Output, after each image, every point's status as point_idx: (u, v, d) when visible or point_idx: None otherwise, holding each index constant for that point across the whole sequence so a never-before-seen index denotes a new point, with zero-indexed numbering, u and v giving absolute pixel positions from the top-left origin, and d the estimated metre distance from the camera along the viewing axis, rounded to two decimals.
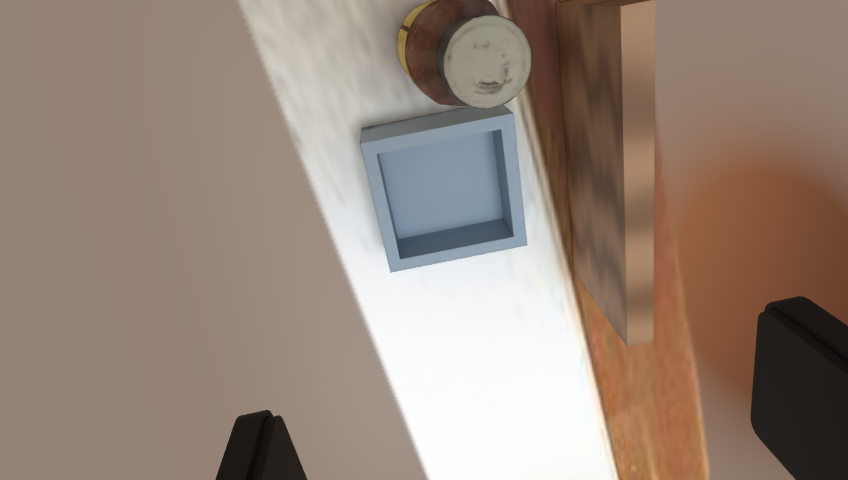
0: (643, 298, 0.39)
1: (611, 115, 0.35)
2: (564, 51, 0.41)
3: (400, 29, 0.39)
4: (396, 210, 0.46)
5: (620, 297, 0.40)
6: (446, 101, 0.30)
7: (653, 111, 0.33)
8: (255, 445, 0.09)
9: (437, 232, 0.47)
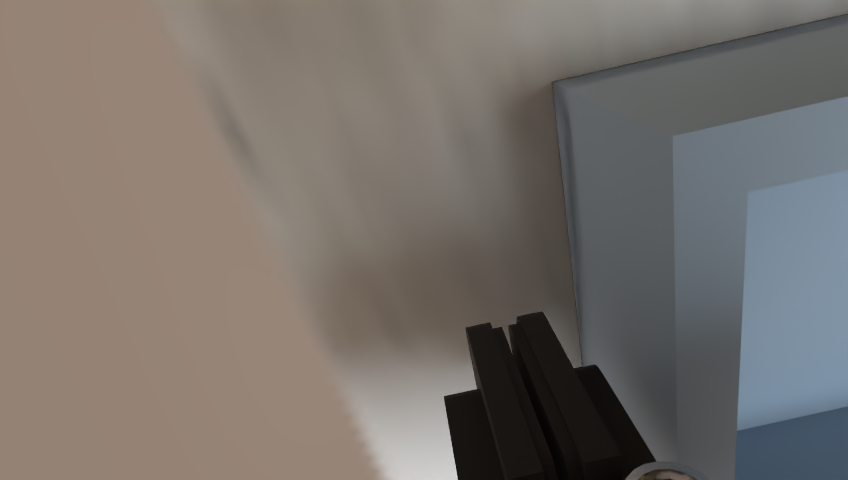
0: None
1: None
2: None
3: None
4: None
5: None
6: None
7: None
8: (498, 346, 0.10)
9: (773, 430, 0.14)
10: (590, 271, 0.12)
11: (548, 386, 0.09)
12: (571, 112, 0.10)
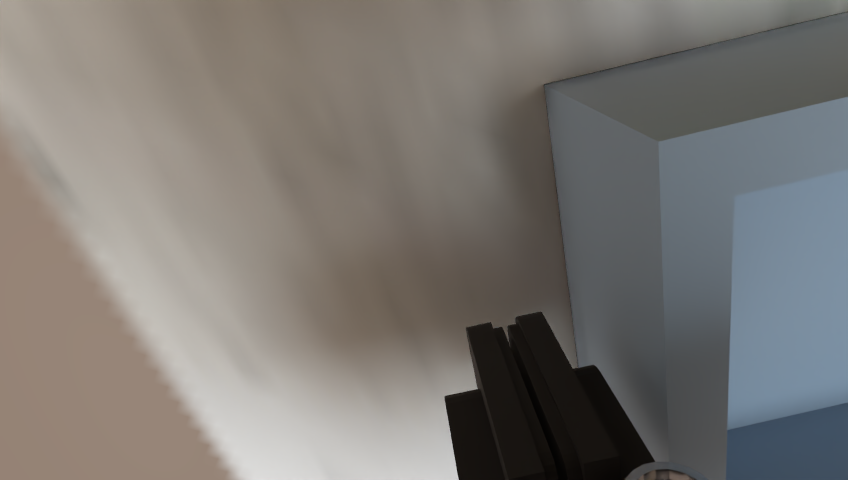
0: None
1: None
2: None
3: None
4: None
5: None
6: None
7: None
8: (498, 346, 0.10)
9: (768, 428, 0.14)
10: (583, 272, 0.12)
11: (547, 386, 0.09)
12: (562, 115, 0.10)
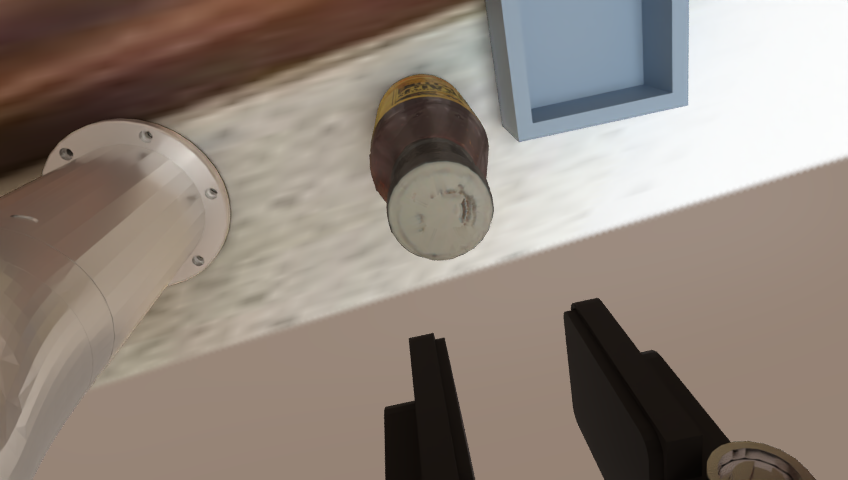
0: None
1: None
2: None
3: None
4: (605, 86, 0.37)
5: None
6: None
7: None
8: (437, 357, 0.10)
9: (643, 31, 0.36)
10: None
11: (616, 369, 0.09)
12: None
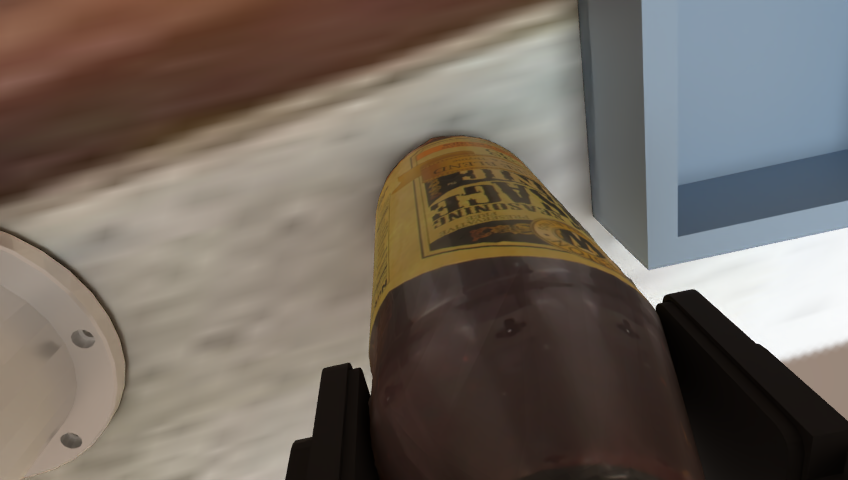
0: None
1: None
2: None
3: None
4: (782, 153, 0.21)
5: None
6: None
7: None
8: (345, 391, 0.10)
9: None
10: None
11: (733, 362, 0.08)
12: None
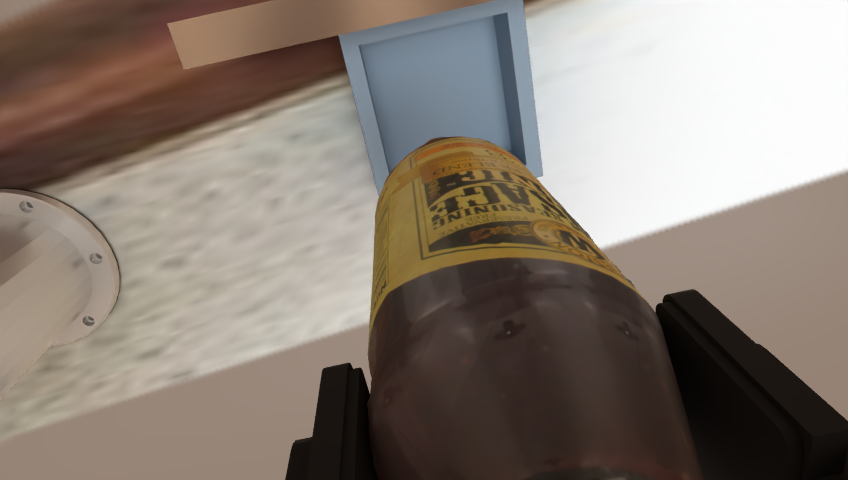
0: None
1: None
2: None
3: None
4: None
5: None
6: None
7: None
8: (345, 391, 0.10)
9: (505, 103, 0.37)
10: None
11: (734, 362, 0.08)
12: None
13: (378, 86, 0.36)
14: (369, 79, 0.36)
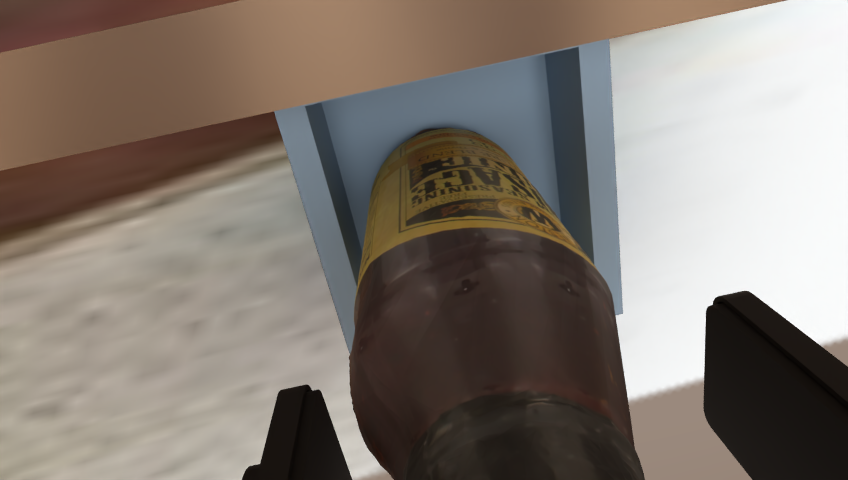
0: None
1: None
2: None
3: None
4: None
5: None
6: None
7: (135, 24, 0.10)
8: (299, 416, 0.09)
9: (558, 184, 0.23)
10: None
11: (801, 367, 0.08)
12: None
13: (350, 159, 0.22)
14: (335, 148, 0.22)
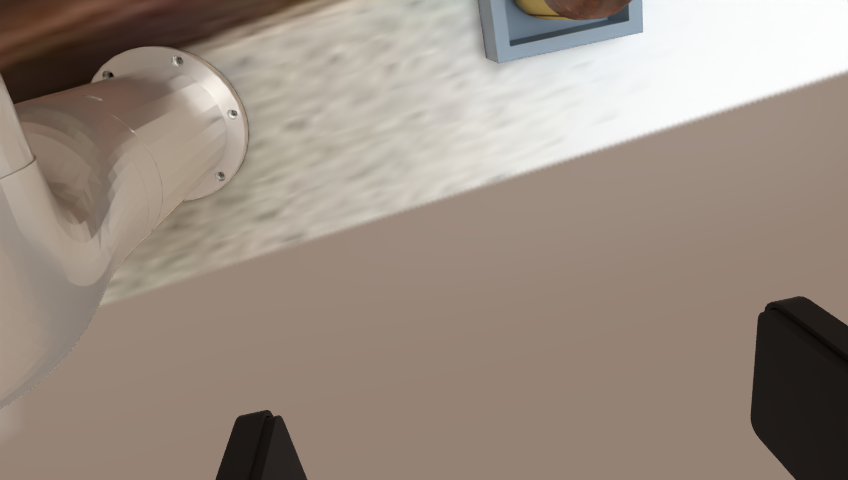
0: None
1: None
2: None
3: (534, 16, 0.40)
4: (574, 21, 0.43)
5: None
6: None
7: None
8: (255, 445, 0.09)
9: None
10: None
11: None
12: None
13: None
14: None
